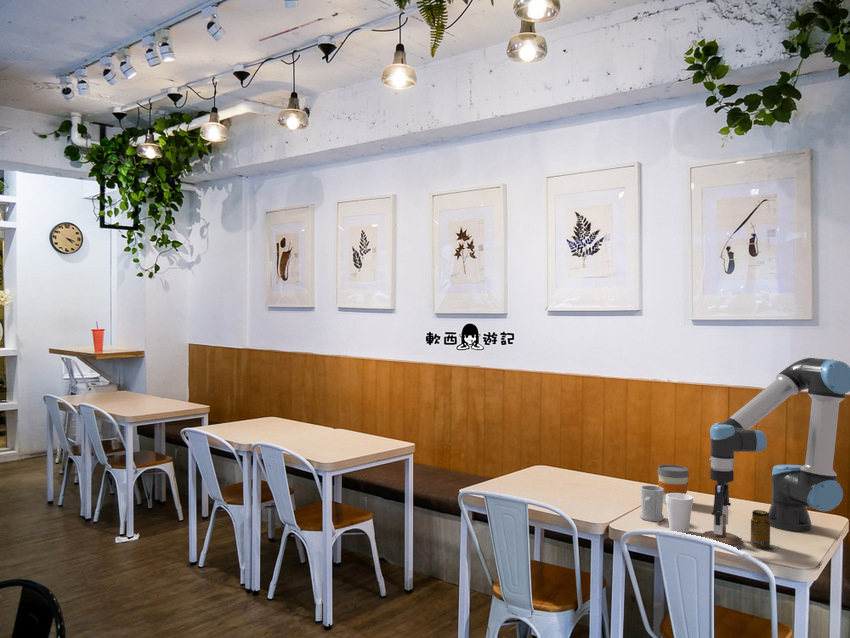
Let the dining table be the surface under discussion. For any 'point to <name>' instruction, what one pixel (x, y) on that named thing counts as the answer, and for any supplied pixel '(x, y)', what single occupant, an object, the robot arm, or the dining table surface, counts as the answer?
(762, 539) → the condiment
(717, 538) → the lid
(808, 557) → the dining table surface
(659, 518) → the cup
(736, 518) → the dining table surface
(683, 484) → the reusable coffee cup
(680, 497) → the foam cup
